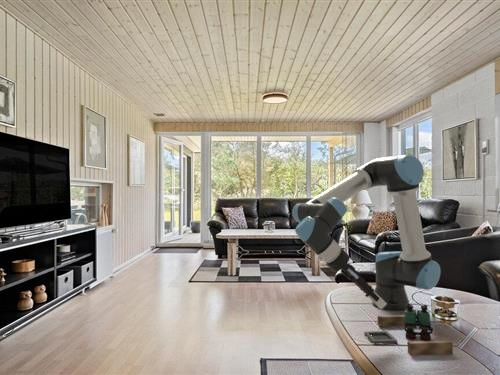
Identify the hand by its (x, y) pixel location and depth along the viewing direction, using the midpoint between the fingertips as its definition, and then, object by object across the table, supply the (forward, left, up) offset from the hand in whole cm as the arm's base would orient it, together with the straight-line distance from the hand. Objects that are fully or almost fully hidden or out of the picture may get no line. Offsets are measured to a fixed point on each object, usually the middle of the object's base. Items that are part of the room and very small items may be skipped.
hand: (383, 305), depth 120 cm
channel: (+4, +9, -11) cm, 15 cm away
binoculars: (+6, +11, -11) cm, 17 cm away
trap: (-1, -1, -11) cm, 11 cm away
